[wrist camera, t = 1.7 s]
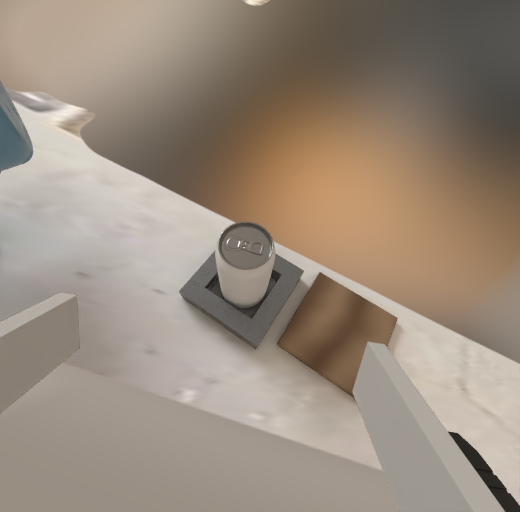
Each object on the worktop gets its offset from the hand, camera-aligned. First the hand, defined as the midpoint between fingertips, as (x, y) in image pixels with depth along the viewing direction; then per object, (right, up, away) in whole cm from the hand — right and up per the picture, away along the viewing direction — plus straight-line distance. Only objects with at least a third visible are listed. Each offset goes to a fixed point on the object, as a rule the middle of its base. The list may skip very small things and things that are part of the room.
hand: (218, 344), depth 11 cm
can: (0, -1, +24) cm, 24 cm away
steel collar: (0, -1, +24) cm, 24 cm away
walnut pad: (+12, -6, +22) cm, 26 cm away
